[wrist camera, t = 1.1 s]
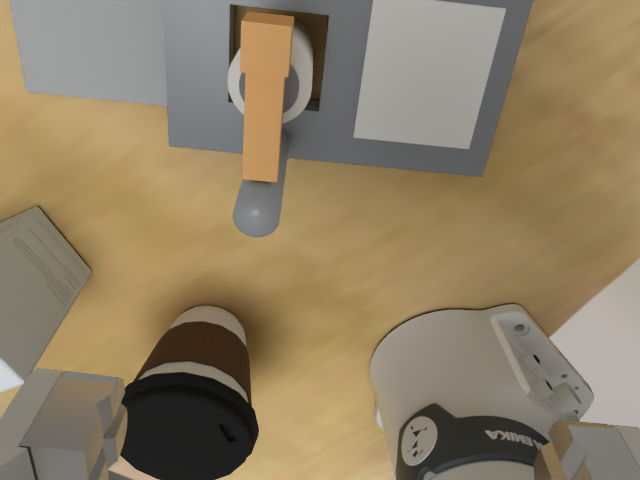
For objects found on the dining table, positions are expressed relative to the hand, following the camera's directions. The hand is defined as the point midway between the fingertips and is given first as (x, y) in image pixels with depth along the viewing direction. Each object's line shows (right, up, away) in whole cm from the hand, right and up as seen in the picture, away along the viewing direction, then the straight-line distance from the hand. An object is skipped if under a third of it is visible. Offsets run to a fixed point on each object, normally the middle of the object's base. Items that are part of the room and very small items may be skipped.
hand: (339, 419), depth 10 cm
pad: (-15, +18, +25) cm, 34 cm away
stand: (+1, +16, +26) cm, 30 cm away
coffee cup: (-10, -5, +39) cm, 41 cm away
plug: (-3, +16, +26) cm, 31 cm away
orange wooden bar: (-3, +11, +17) cm, 21 cm away
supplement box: (-24, +2, +35) cm, 42 cm away
